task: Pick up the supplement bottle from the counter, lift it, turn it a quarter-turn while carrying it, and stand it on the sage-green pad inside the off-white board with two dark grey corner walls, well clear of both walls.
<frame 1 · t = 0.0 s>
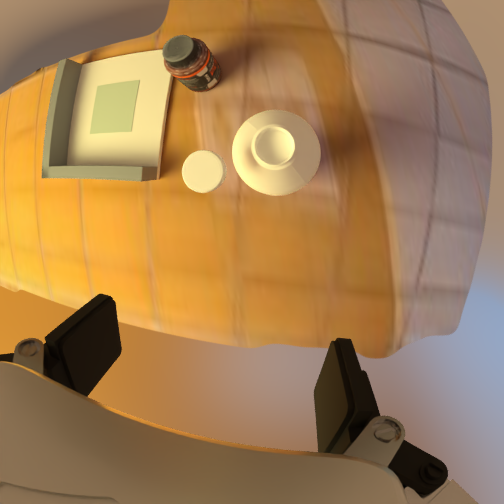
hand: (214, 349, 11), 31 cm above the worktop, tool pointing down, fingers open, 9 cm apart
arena: (110, 114, 38), on the worktop
supplement bottle: (203, 76, 35), on the worktop
water bottle: (271, 163, 38), on the worktop
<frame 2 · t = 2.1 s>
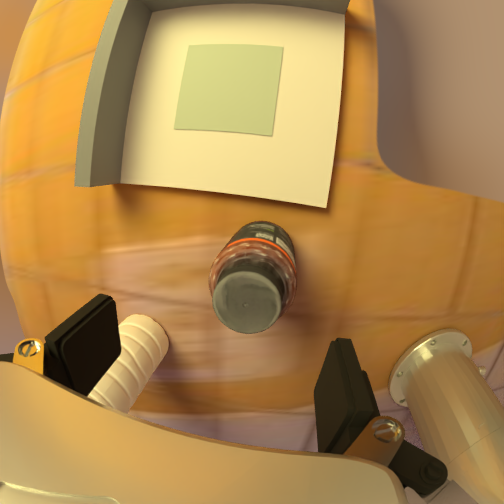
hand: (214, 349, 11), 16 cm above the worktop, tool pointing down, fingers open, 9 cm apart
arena: (221, 78, 22), on the worktop
supplement bottle: (262, 250, 26), on the worktop
water bottle: (142, 327, 31), on the worktop
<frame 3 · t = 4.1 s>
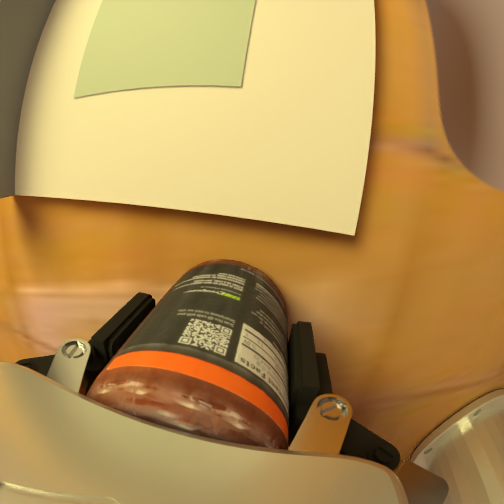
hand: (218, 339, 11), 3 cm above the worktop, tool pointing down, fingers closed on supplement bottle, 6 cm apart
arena: (157, 8, 9), on the worktop
supplement bottle: (229, 309, 14), on the worktop, touching gripper
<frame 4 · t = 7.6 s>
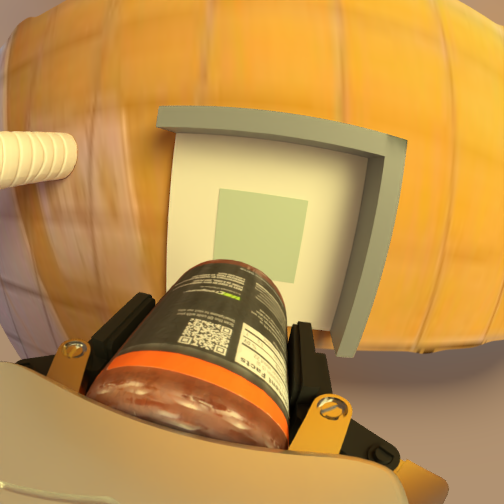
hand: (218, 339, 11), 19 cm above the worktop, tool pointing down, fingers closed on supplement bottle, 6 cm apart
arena: (269, 226, 29), on the worktop
supplement bottle: (229, 308, 14), point 16 cm above the worktop, touching gripper
water bottle: (68, 152, 29), on the worktop
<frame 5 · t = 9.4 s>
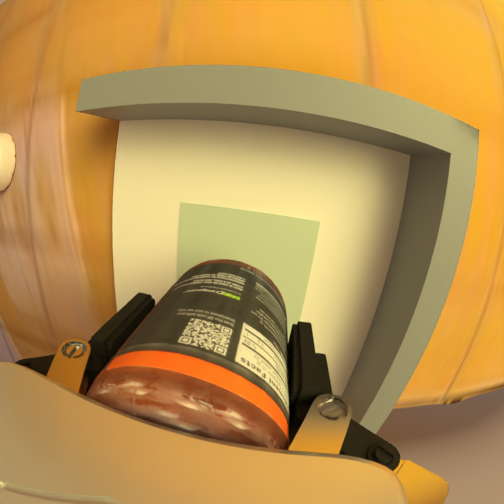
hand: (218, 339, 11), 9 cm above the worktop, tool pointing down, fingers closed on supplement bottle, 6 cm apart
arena: (258, 260, 19), on the worktop
supplement bottle: (229, 308, 14), point 6 cm above the worktop, touching gripper
water bottle: (8, 156, 19), on the worktop
when the fingers open (5 cm above the worktop, at t = 11.1 s): supplement bottle drops 1 cm, resting on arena.
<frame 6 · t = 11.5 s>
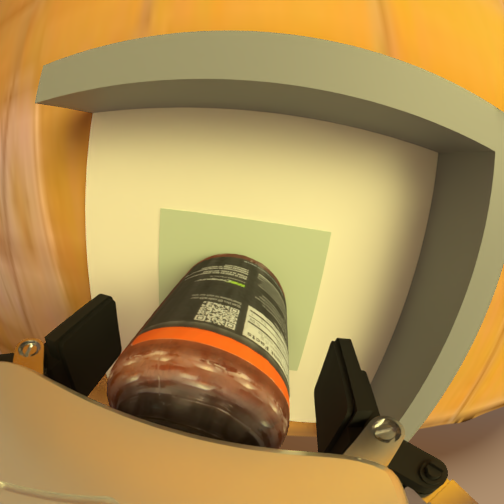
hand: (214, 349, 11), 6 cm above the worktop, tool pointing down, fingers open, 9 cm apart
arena: (255, 278, 16), on the worktop
supplement bottle: (233, 299, 15), point 1 cm above the worktop, touching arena
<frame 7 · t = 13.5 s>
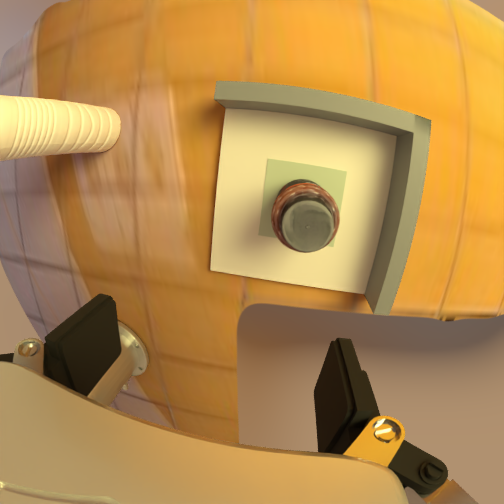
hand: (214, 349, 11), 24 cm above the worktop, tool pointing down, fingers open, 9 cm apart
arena: (311, 195, 31), on the worktop
supplement bottle: (301, 204, 31), point 1 cm above the worktop, touching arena
water bottle: (110, 126, 32), on the worktop
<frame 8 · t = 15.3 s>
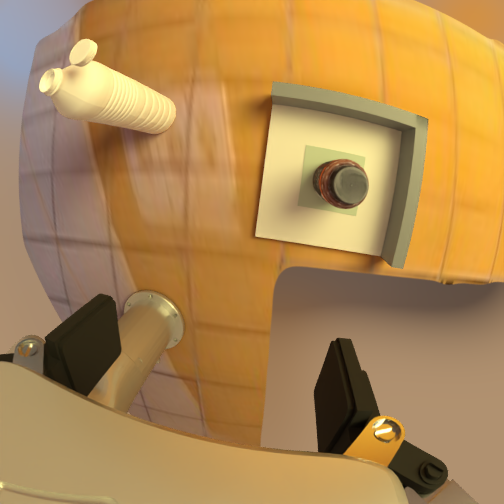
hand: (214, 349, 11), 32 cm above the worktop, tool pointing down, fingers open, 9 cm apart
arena: (338, 175, 38), on the worktop
supplement bottle: (331, 181, 38), point 1 cm above the worktop, touching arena
water bottle: (164, 112, 38), on the worktop
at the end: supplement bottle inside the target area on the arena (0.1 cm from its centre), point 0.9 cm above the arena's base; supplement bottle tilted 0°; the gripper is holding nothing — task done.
